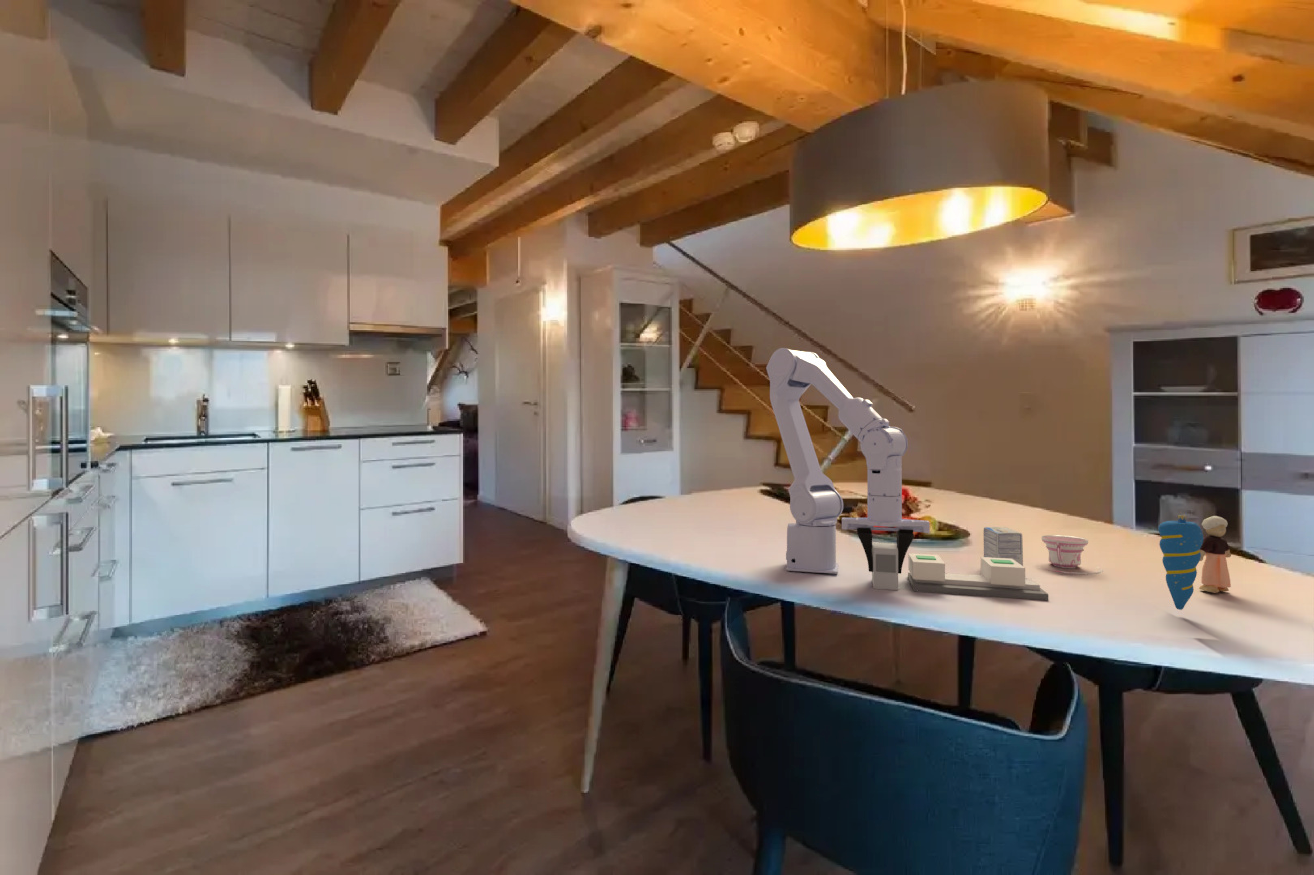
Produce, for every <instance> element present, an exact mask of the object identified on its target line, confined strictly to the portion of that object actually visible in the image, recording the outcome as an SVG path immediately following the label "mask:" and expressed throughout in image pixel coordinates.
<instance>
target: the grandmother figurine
mask: <svg viewBox="0 0 1314 875" xmlns="http://www.w3.org/2000/svg"><path fill="white" fill-rule="evenodd" d="M1228 525H1229V524H1228V521H1227V519H1225V518H1223V517H1221V516H1218V515H1212V516H1210V517H1207V518H1205V519H1203V520H1202V523H1201V527H1202V528H1203V529H1205V532H1206V534H1208V535H1207V536H1205V537H1204V538H1203V543H1202V546H1201V548H1200V549H1199V551H1200V553H1201V558H1200V561H1199V562H1202V561H1203V560H1204V557H1205V560H1204V562H1203V565H1202V568H1201V580H1200V582H1201V584H1202V585H1200V586H1199V587H1198V590H1201V591H1205V592H1209V593H1220V592H1229V591H1230V590H1229V588H1232V585H1231V584H1232V583H1231V578H1230V572H1229V571H1230V570H1229V567H1228V562H1227V558H1231V556H1232V553H1231V551H1230V546H1229V544H1228V542H1227V539H1226V538H1223V536H1225V534H1226V533H1227V527H1228Z"/></svg>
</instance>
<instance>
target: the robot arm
mask: <svg viewBox="0 0 1314 875" xmlns="http://www.w3.org/2000/svg"><path fill="white" fill-rule="evenodd" d="M765 368H766V372H767V376H768V379H769V400H770V405H771V407H772V411H773V414H774V417H775V420H776V423H777V427H778V429H779V433H780V437H781V440H782V443H783V446H784V450H785V453H786V456H787V460H788V462H789V466H790V469H791V473H792V476H793V478H794V479H793V482H792V483H791V485H790V486H789V487H788V493H789V497H790V498H789V499H790V502H789V510H790V513H791V515H792V517H793V519H794V520H795V522H792V523H788V524H787V527H786V528H787V529H786V551H785V557H786V558H785V560H786V571H787V572H788V571H789V572H803V573H820V574H838V573H839V563H837V558H836V557H837V545H836V544H837V542H836V540H837V525H836V524H837V523H838V518H839V517H840V516H841V515H842V513H843V510H844V500H843V497H842V496H841V494H840V493H839V492H838V491H837V490H836V488H835V486H834V483H833V481H832V479H830V477H828V476H827V475H825V474H824V472H822V468H821V465H820V463H819V459H818V456H817V454H816V451H815V447H814V444H813V441H812V438H811V435H810V432H809V429H808V426H807V422H806V418H805V416H804V413H803V410H802V408H801V404H800V399H801V397H802V395H804V394H805V392H806V391H807V390H808V389H809V387H811V385H812V386H813V387H814V388H815V389H817V391H818V392H820V394H822V395H823V397H825V398H826V399H827V400H828V401H829V402H830V403H831V404H832V405H834V407H836V409H837V410H838V416H837V417H838V420H839V421H840V422H841V424H843V425H844V426H845V427H846V428H847V430H849V431H850V433H851V434H853V436H854V437H855V438H856V439H857V440H858V441H859V442H860V443H859V447H860V450H861V453H862V455H863V456H864V458H865V461H866V467H867V468H866V469H867V473H866V475H867V478H866V480H867V488H866V489H867V500H866V501H867V503H866V504H867V508H866V509H867V517H841V530H842V531H843V530H845V531H847V530H856V534H857V537H858V538H859V541H860V543H861V545H862V548H863V551H864V553H865V556H866V560H867V567H868V572H869V573H872V572H873V559H872V542H873V532H872V531H885V532H887V531H888V532H895V534H896V546H897V548H898V574H902V568H903V563H904V561H905V557H906V554H907V553H908V551H909V550H908V549H909V548H910V546H911V544H912V543H913V540H914V538H915V534H914V533H923V534H930V533H931V531H930V528H931V527H930V524H931V522H930V521H929V520H923V519H922V520H921V519H920V520H918V519H907V518H903V517H902V515H903V512H902V511H903V510H902V508H903V507H902V506H903V503H902V502H903V500H902V498H903V496H902V494H903V493H902V492H903V490H902V489H903V488H902V487H903V486H902V485H903V481H902V480H903V478H902V477H903V474H902V473H903V471H902V467H903V465H902V464H903V463H902V462H903V461H902V460H903V459H902V458H903V456H904V455H905V454H906V453H907V450H908V447H909V440H908V437H907V436H906V434H905V432H904V431H903V429H902V428H899V427H897V426H890V421H889V420H888V419H887V418H883V417H882V416H881V415H880V414H879V413H878V412H877V411H876V410H875V409H874V408H873V402H871V400H870V399H864V398H862V397H853V396H852V395H851V393H850V392H849V391H848V390H847V388H846V387H844V385H843V384H842V383H841V382H840V380H839V379H837V377H836V376H835V375H834V374H833V372H832V371H831V370H830V369H829V368H828V366H827V363H826V361H825V360H823V359H822V358H820V357H819V355H818V354H817V353H815V352H813V351H803V350H801V351H800V350H794V349H790V348H786V347H780V348H777V349H776V350H775V351H774V352H773V353H772V355H771V356H770V359H769V361H768V363H767V365H766V367H765Z"/></svg>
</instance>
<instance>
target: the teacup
mask: <svg viewBox="0 0 1314 875" xmlns="http://www.w3.org/2000/svg"><path fill="white" fill-rule="evenodd" d="M1041 541H1042V542H1043V544H1045V548H1046V549H1047V551H1048V562H1049V563H1050V564H1052V565H1053V566H1055V567H1057V568H1062V569H1076V567H1078V566H1080V565H1082V559H1081V557H1082V552H1084V551H1085V550H1084V548H1085V547H1086V546H1088V543H1089V539H1087V538H1085V537H1080V536H1072V535H1062V534H1058V535H1057V534H1053V535H1052V534H1051V535H1050V534H1047V535H1042V536H1041ZM1038 568H1039V569H1042V570H1047V571H1051V572H1055V573H1061V572H1062V574H1063V573H1064V574H1070V573H1071V575H1081V574H1087V575H1094V574H1095V575H1096V574H1100V573H1102V572H1103V569H1102V568H1101V570H1100V569H1099V568H1100V567H1098V566H1097V569H1099V570H1100V571H1099V570H1098V571H1095V572H1076V571H1075V572H1073V571H1066V570H1065V571H1064V570H1063V571H1062V570H1055V569H1050V568H1044V567H1039V566H1038Z"/></svg>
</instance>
